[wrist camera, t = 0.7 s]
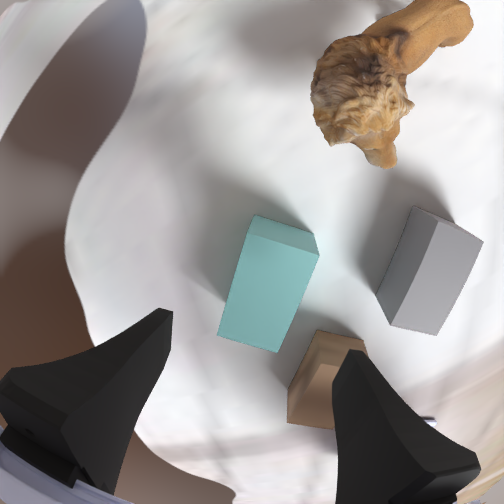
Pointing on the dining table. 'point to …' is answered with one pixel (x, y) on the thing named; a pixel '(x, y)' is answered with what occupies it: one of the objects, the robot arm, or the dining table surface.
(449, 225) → the gray brick
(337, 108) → the lion figurine
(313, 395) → the walnut brick
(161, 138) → the dining table surface
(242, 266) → the teal brick
